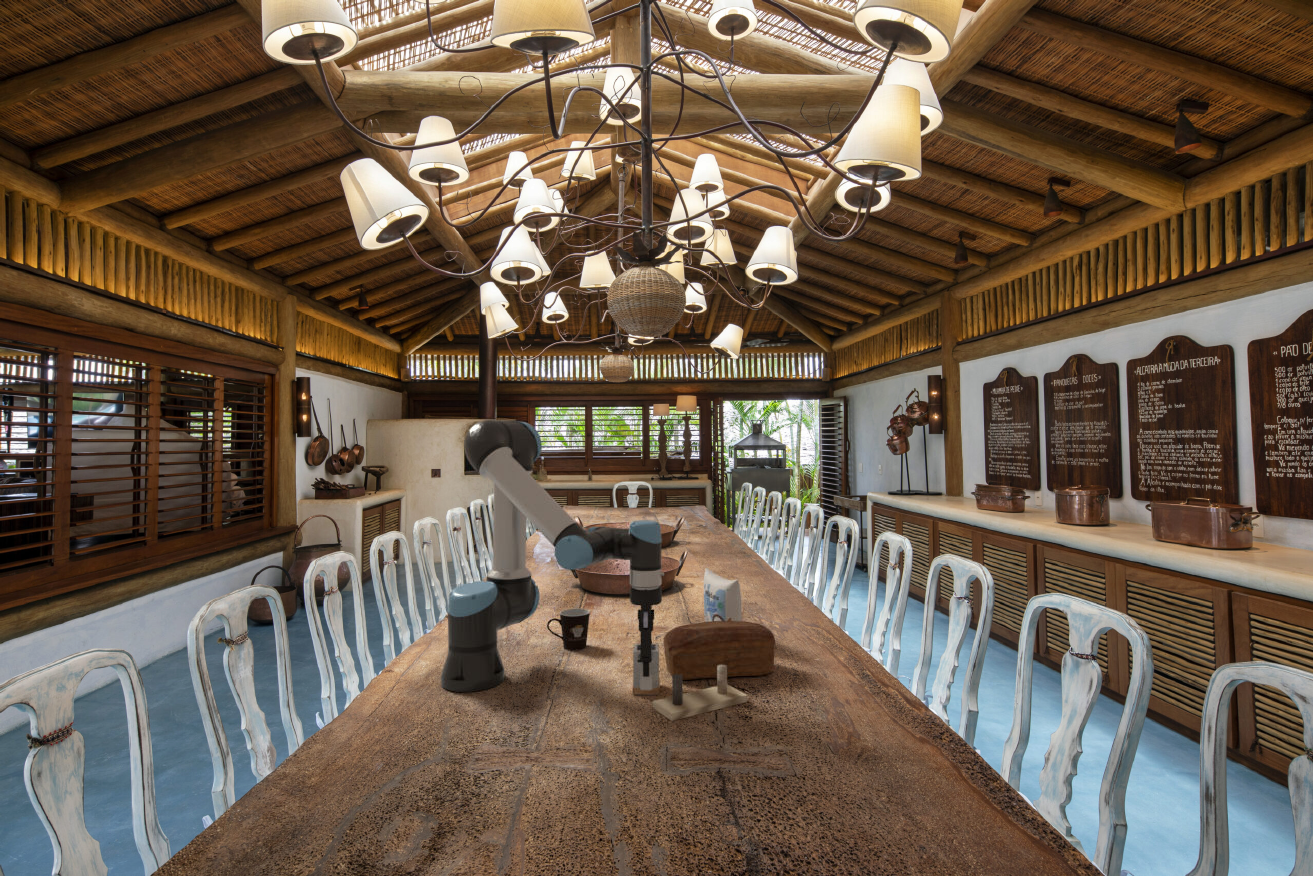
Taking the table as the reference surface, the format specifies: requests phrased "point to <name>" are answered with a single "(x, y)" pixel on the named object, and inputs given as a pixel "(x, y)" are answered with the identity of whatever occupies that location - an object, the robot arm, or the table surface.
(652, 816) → the table surface
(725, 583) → the pouch
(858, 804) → the table surface
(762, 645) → the bread
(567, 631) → the coffee mug
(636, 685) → the sleeve
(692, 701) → the pin board
